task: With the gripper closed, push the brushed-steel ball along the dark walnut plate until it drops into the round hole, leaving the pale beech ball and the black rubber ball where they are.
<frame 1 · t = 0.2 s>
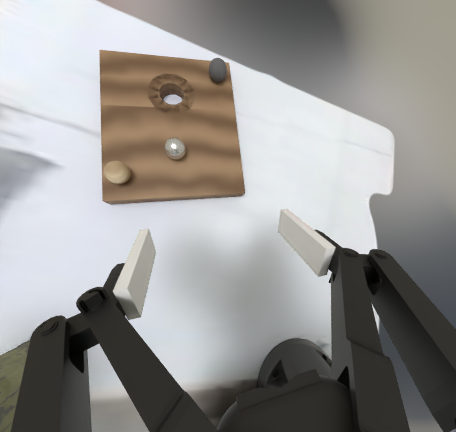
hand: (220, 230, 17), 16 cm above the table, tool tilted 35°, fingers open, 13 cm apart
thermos: (39, 367, 25), on the table
walnut plate: (175, 131, 34), on the table
beech ball: (117, 172, 27), point 4 cm above the table, touching walnut plate
steel ball: (175, 148, 29), point 4 cm above the table, touching walnut plate
black rubber ball: (217, 70, 33), point 4 cm above the table, touching walnut plate
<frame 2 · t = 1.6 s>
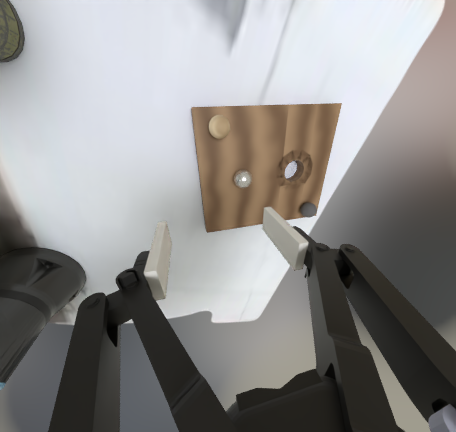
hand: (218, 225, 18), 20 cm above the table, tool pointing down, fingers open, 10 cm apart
walnut plate: (263, 171, 37), on the table
beech ball: (219, 127, 28), point 4 cm above the table, touching walnut plate
steel ball: (242, 179, 33), point 4 cm above the table, touching walnut plate
black rubber ball: (308, 209, 40), point 4 cm above the table, touching walnut plate
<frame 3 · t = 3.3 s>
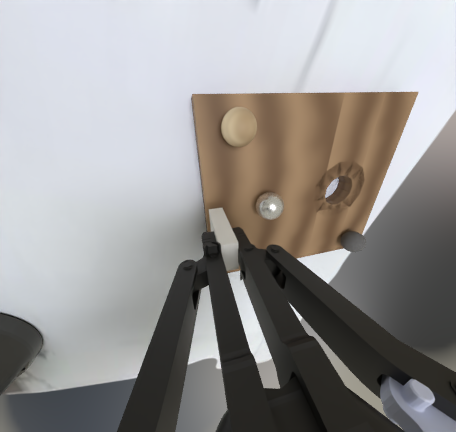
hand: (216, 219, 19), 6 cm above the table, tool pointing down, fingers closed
walnut plate: (293, 189, 26), on the table
beech ball: (238, 128, 17), point 4 cm above the table, touching walnut plate
steel ball: (269, 205, 22), point 4 cm above the table, touching walnut plate
black rubber ball: (352, 241, 29), point 4 cm above the table, touching walnut plate
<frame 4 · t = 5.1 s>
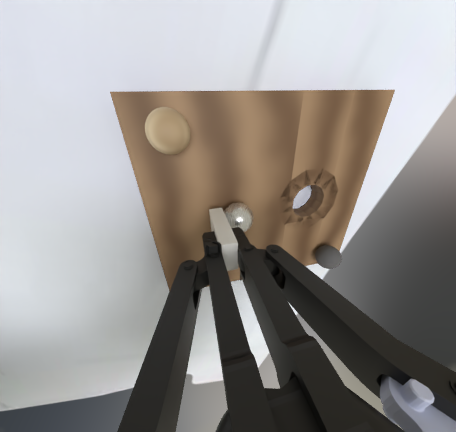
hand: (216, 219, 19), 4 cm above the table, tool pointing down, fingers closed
walnut plate: (258, 199, 24), on the table
beech ball: (168, 132, 14), point 4 cm above the table, touching walnut plate
steel ball: (238, 217, 19), point 4 cm above the table, tilted 53°, touching gripper, walnut plate
black rubber ball: (327, 256, 26), point 4 cm above the table, touching walnut plate
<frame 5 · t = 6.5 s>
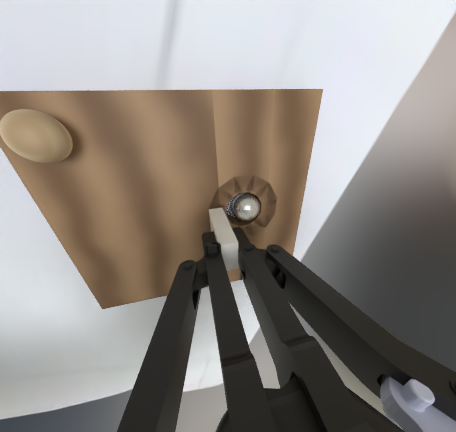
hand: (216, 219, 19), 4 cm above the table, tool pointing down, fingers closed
walnut plate: (193, 208, 22), on the table
beech ball: (39, 137, 12), point 4 cm above the table, touching walnut plate
steel ball: (246, 206, 22), point 2 cm above the table, tilted 118°
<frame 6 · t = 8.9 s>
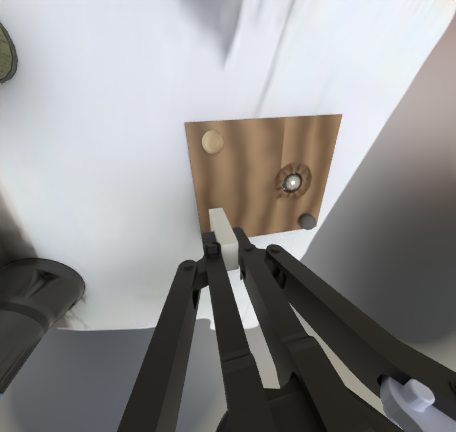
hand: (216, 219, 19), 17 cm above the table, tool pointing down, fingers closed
walnut plate: (260, 182, 36), on the table
beech ball: (212, 142, 27), point 4 cm above the table, touching walnut plate
steel ball: (291, 182, 36), point 2 cm above the table, tilted 107°
black rubber ball: (307, 222, 38), point 4 cm above the table, touching walnut plate
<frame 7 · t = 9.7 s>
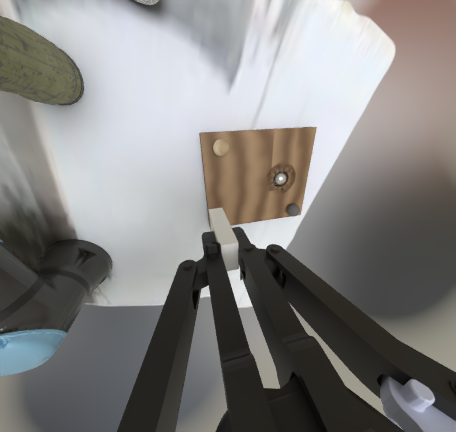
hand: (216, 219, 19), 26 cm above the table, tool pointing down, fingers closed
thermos: (54, 76, 29), on the table
walnut plate: (256, 179, 46), on the table
beech ball: (221, 147, 37), point 4 cm above the table, touching walnut plate
steel ball: (279, 178, 46), point 2 cm above the table, tilted 103°
black rubber ball: (293, 210, 49), point 4 cm above the table, touching walnut plate
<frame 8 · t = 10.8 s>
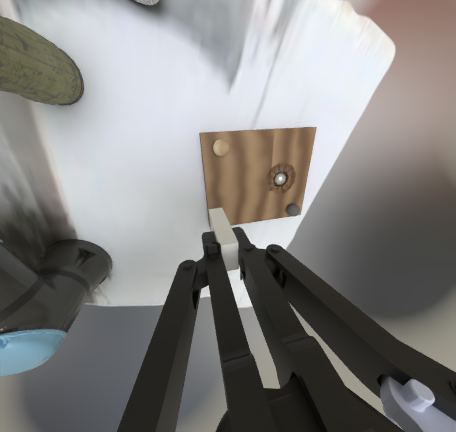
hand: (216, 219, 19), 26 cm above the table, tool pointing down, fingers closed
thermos: (54, 76, 29), on the table
walnut plate: (256, 179, 46), on the table
beech ball: (221, 147, 37), point 4 cm above the table, touching walnut plate
steel ball: (279, 178, 46), point 2 cm above the table, tilted 98°
black rubber ball: (293, 210, 49), point 4 cm above the table, touching walnut plate
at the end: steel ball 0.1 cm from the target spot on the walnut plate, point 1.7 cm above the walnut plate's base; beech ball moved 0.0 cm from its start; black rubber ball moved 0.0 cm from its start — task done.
